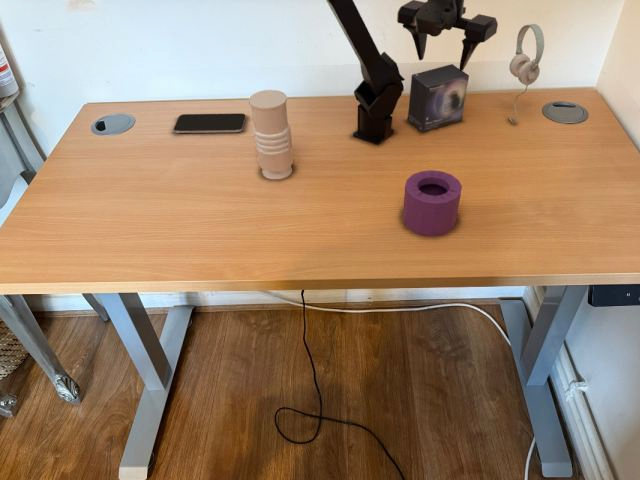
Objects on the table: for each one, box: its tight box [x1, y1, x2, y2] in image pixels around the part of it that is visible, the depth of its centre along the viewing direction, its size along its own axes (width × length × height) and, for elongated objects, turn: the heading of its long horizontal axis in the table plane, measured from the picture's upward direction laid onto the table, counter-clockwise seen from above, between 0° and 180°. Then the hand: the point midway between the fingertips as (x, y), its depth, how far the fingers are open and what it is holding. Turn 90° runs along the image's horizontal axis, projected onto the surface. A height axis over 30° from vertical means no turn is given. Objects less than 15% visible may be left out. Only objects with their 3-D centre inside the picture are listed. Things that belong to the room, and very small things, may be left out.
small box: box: [406, 63, 470, 133], centre depth 113 cm, size 11×6×10 cm, turn 118°
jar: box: [402, 169, 463, 237], centre depth 91 cm, size 9×9×7 cm
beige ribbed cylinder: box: [248, 89, 294, 180], centre depth 100 cm, size 7×7×15 cm
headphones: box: [508, 23, 545, 124], centre depth 108 cm, size 8×4×20 cm, turn 13°
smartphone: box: [173, 112, 247, 134], centre depth 118 cm, size 7×1×15 cm
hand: (440, 65), depth 108 cm, fingers open, 9 cm apart
